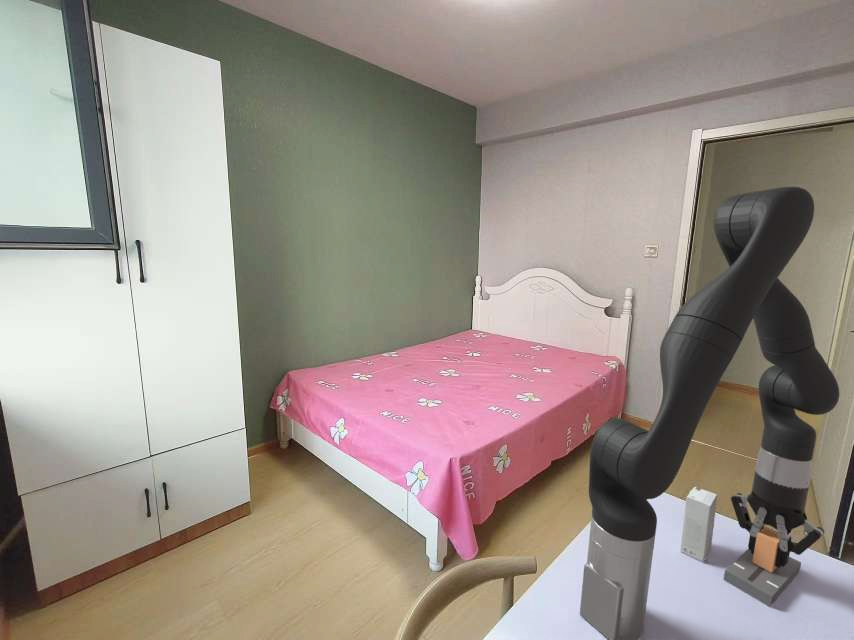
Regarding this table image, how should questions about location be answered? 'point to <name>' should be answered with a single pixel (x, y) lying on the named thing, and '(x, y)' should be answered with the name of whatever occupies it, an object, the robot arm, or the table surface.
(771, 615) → the table surface
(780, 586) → the fader console
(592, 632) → the table surface
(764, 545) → the fader tab
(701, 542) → the skincare box
